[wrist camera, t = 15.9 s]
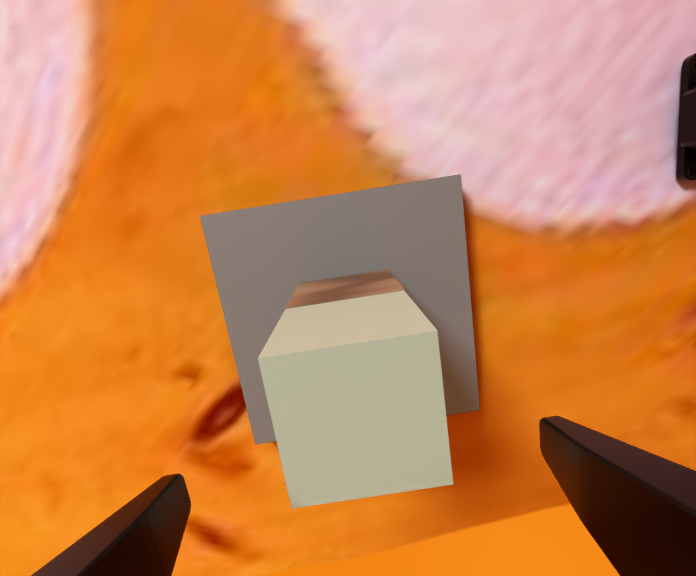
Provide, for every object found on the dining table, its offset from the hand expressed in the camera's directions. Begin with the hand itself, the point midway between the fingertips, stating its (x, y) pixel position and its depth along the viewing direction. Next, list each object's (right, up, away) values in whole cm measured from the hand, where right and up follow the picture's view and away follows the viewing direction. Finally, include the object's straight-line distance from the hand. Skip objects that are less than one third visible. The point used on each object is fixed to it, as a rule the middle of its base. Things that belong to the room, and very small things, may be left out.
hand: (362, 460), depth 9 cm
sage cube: (0, +1, +6) cm, 6 cm away
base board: (0, +3, +13) cm, 13 cm away
